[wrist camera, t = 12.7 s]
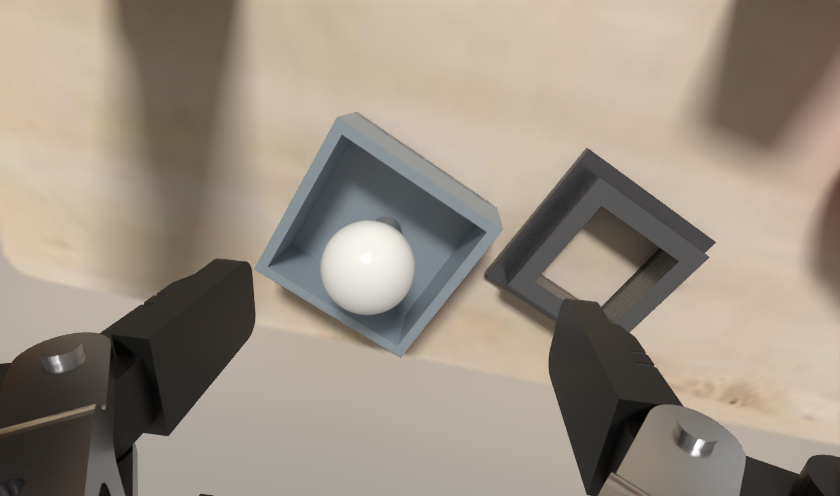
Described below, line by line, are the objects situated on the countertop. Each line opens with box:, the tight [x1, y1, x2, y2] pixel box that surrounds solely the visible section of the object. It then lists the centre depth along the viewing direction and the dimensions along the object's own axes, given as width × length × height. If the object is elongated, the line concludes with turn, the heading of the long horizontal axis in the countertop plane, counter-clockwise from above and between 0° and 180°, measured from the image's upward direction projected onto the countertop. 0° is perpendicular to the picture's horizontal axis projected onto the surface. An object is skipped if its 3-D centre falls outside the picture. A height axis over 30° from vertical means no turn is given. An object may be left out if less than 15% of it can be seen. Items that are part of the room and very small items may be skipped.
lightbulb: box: [320, 217, 416, 315], centre depth 30 cm, size 6×6×11 cm
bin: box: [254, 112, 503, 357], centre depth 33 cm, size 14×14×6 cm
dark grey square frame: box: [485, 148, 716, 332], centre depth 33 cm, size 13×13×3 cm
